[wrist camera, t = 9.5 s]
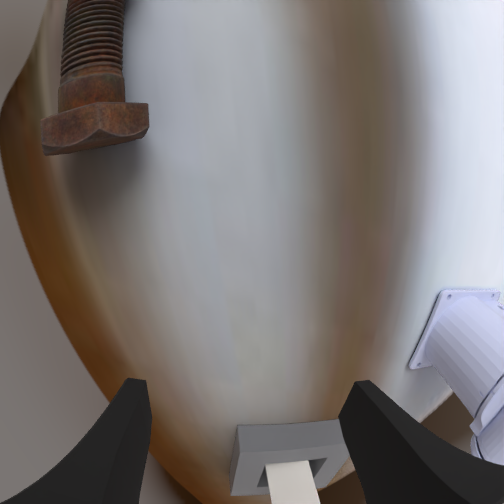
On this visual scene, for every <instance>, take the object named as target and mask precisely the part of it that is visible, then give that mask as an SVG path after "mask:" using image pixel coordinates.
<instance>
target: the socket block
mask: <svg viewBox="0 0 504 504" xmlns="http://www.w3.org/2000/svg"><path fill="white" fill-rule="evenodd" d="M349 456H350V454H349V452H348V449H347V447H346V444H345V441H344V438H343V435H342V431H341V426H340V422H339V419H335V420H327V421H317V422H307V423H294V424H276V425H237V431H236V437H235V443H234V449H233V455H232V460H231V466H230V472H229V481H230V493H231V496H242V495H264V494H270V490H269V484H268V478H267V473H266V467H265V464H273V463H286V462H297V461H306V460H308V462H309V465H310V469H311V472H312V476H313V480H314V483H315V487H316V489H317V488H323V487H326V486H327V484H328V483H329V482H330V481H331V479H332V478H333V477H334V476H335V474H336V473H337V472H338V471H339V469H340V468H341V467H342V465H343V464H344V463H345V461H346V460H347V458H348V457H349Z"/></svg>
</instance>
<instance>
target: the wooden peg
mask: <svg viewBox="0 0 504 504" xmlns="http://www.w3.org/2000/svg"><path fill="white" fill-rule="evenodd" d="M265 467H266V473H267V478H268V484H269V490H270V495H271V501H272V504H320V501H319V497H318V494H317V490H316V487H315V483H314V480H313V476H312V472H311V469H310V465H309V462H308V460H306V461H297V462H286V463H273V464H265Z"/></svg>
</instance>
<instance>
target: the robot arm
mask: <svg viewBox="0 0 504 504" xmlns="http://www.w3.org/2000/svg"><path fill="white" fill-rule="evenodd" d="M499 297H500V291H499V290H443V291H441V292H440V294H439V296H438V299H437V302H436V304H435V307H434V309H433V312H432V314H431V317H430V319H429V321H428V324H427V326H426V328H425V331H424V333H423V335H422V337H421V340H420V342H419V344H418V346H417V348H416V350H415V352H414V354H413V357H412V359H411V361H410V363H409V365H408V366H409V368H410V369H418V368H423V367H429V366H434V367H435V368H436V369H437V371H438V372H439V373H440V374H441V376H442V377H443V378H444V379H445V381H446V382H447V383H448V384H449V386H450V387H451V388H452V390H453V391H454V392H455V394H456V395H457V396H458V397H459V399H460V400H461V401H462V403H463V404H464V405H465V407H466V408H467V409H468V411H469V412H470V413H471V415H472V416H473V418H474V419H475V420H474V421H473V422H472V423H471V425H470V428H471V429H472V431H473V432H474V435H473V436H472V439H471V454H469V453H466V452H464V451H462V450H460V449H458V448H456V447H454V446H452V445H451V444H449V443H448V442H446V441H444V440H443V439H441V438H439V437H438V436H436V435H435V434H433V433H432V432H431V431H429V430H428V429H427V428H425V427H424V426H423V425H421V424H420V423H419V422H417V421H416V420H415V419H414V418H412V417H411V416H410V415H409V414H408V413H406V412H405V411H404V410H403V409H402V408H401V407H399V406H398V405H397V404H396V403H395V402H394V401H393V400H392V399H390V398H389V397H388V396H387V395H386V394H385V393H384V392H383V391H381V390H380V389H379V388H378V387H377V386H376V385H375V384H373V383H372V382H371V381H370V380H365V381H356V382H355V383H354V385H353V387H352V389H351V391H350V393H349V395H348V398H347V400H346V402H345V404H344V406H343V408H342V410H341V412H340V414H339V416H338V417H339V422H340V426H341V431H342V435H343V438H344V441H345V444H346V447H347V449H348V452H349V454H350V457H351V459H352V462H353V464H354V467H355V469H356V472H357V474H358V477H359V479H360V482H361V485H362V488H363V491H364V494H365V498H366V503H367V504H502V503H504V306H503V305H502V304H501V303H500V302H498V299H499ZM151 424H152V413H151V408H150V402H149V396H148V390H147V383H146V380H140V379H133V378H127V379H126V380H125V382H124V383H123V385H122V386H121V388H120V389H119V391H118V392H117V394H116V395H115V397H114V398H113V400H112V401H111V403H110V404H109V405H108V407H107V408H106V410H105V411H104V412H103V414H102V415H101V416H100V418H99V419H98V420H97V422H96V423H95V424H94V425H93V427H92V428H91V429H90V430H89V431H88V433H87V434H86V435H85V436H84V437H83V438H82V439H81V441H80V442H79V443H78V444H77V445H76V446H75V447H74V448H73V449H72V450H71V451H70V453H68V455H66V456H65V457H64V458H63V459H62V460H61V461H60V462H59V463H58V464H57V465H56V466H55V467H54V468H52V469H51V470H50V471H49V472H48V473H47V474H45V475H44V476H43V477H41V478H40V479H39V480H38V481H36V482H35V483H33V484H32V485H30V486H29V487H27V488H26V489H24V490H23V491H21V492H20V493H18V494H17V495H15V496H13V497H11V498H10V499H8V500H6V501H4V502H2V503H0V504H139V496H140V490H141V484H142V479H143V474H144V469H145V463H146V459H147V454H148V449H149V444H150V435H151Z"/></svg>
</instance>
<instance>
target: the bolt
mask: <svg viewBox="0 0 504 504" xmlns="http://www.w3.org/2000/svg"><path fill="white" fill-rule="evenodd" d="M124 6H125V0H68V4H67V12H66V18H65V25H64V26H65V28H64V34H63V35H64V38H63V41H64V42H63V50H62V52H63V53H62V60H61V65H62V66H61V71H62V72H61V74H60V75H61V79H60V87H59V90H58V114H55V115H52V116H49V117H46V118H44V119H41V138H42V147H43V152H44V155H45V156H49V155H59V154H68V153H73V152H78V151H84V150H89V149H94V148H99V147H104V146H109V145H115V144H120V143H124V142H129V141H132V140H136V139H141V138H143V137H144V136H145V134H146V133H147V130H148V128H149V112H148V104H147V103H127V102H125V88H124V78H123V76H122V72H121V71H122V68H123V67H122V66H121V65H122V62H123V61H122V57H123V55H122V46H123V44H122V42H123V38H122V37H123V25H124V23H123V20H124V17H123V16H124Z"/></svg>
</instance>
